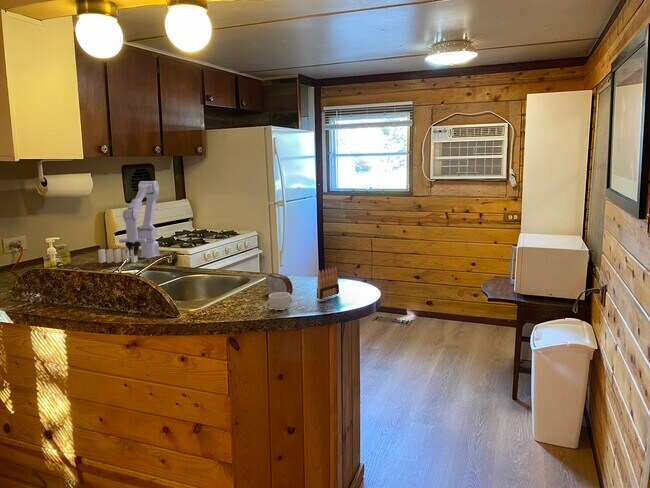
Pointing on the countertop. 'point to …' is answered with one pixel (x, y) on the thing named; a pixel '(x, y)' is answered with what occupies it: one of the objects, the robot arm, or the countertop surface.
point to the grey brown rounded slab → (278, 283)
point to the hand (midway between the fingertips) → (134, 255)
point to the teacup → (279, 300)
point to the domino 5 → (133, 256)
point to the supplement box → (63, 253)
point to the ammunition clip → (327, 283)
